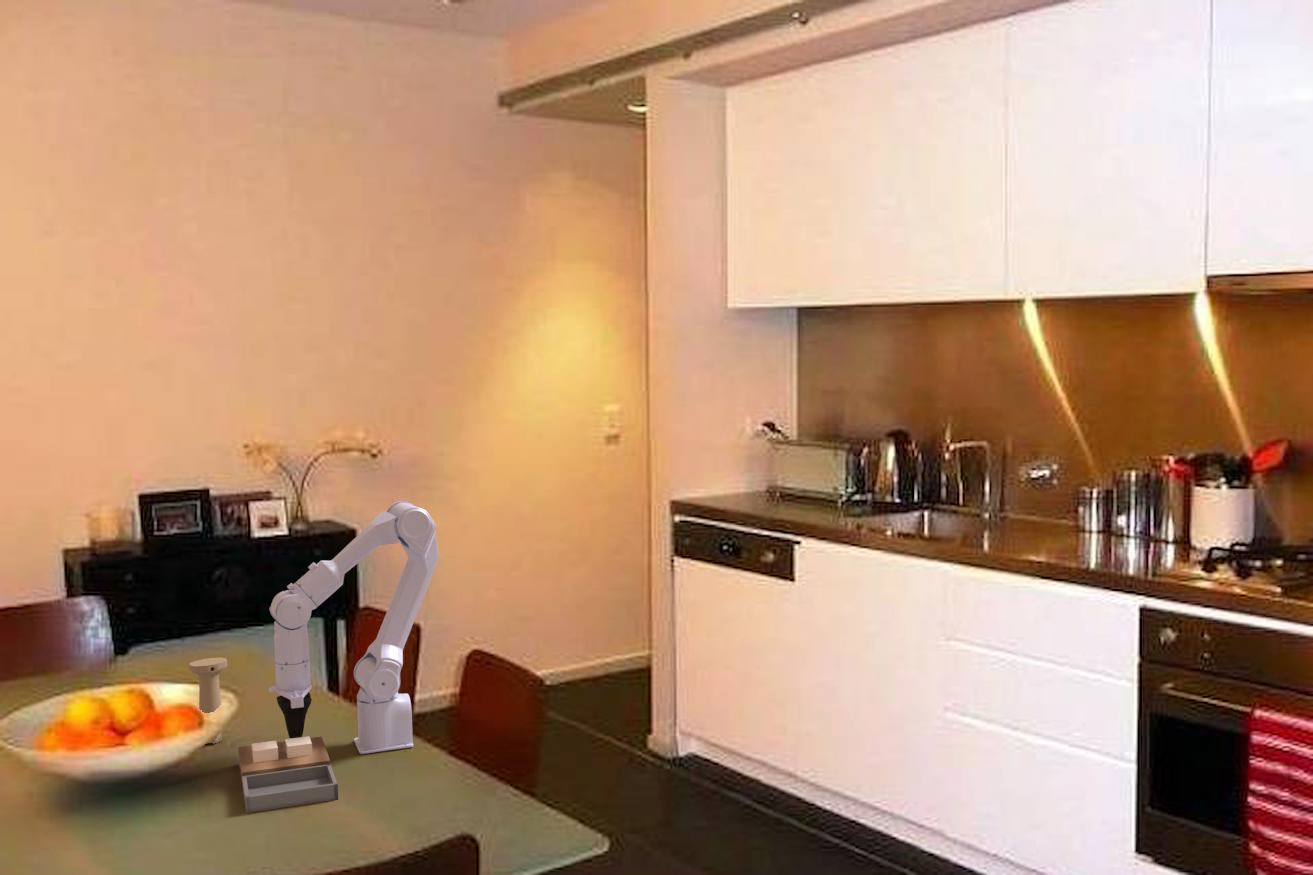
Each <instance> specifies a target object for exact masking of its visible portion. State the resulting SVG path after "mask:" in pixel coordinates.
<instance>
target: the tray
mask: <svg viewBox="0 0 1313 875" xmlns="http://www.w3.org/2000/svg"><path fill="white" fill-rule="evenodd" d="M242 783H243V788H242V794H243V800H244V807H245V808H244V809H245V814H249V813H258V812H263V811H271V810H276V809H284V808H289V807H296V806H302V805H303V806H304V805H309V804H310V805H311V804H315V803H322V802H329V801H337V800H339V788H338V787H339V786H338V784H339V783H338V781H337V778H336V776H335V773H334V770H333V768H332V764H331V763H330V764H326V765H319V766H312V767H305V768H298V769H291V770H284V771H276V772H269V773H262V774H255V775H248V776H242V781H241V784H242Z"/></svg>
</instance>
